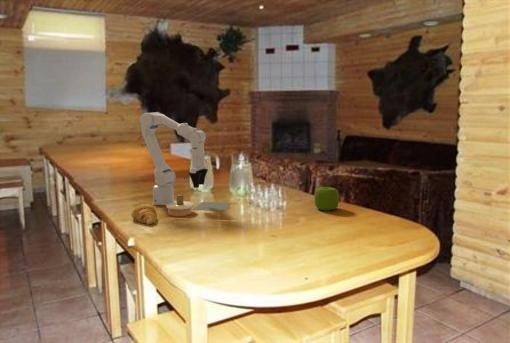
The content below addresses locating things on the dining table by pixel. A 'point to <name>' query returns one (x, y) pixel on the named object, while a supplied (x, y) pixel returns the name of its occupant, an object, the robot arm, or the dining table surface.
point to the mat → (212, 206)
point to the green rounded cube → (326, 198)
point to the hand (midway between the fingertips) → (198, 186)
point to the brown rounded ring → (180, 212)
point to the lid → (180, 204)
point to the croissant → (144, 213)
